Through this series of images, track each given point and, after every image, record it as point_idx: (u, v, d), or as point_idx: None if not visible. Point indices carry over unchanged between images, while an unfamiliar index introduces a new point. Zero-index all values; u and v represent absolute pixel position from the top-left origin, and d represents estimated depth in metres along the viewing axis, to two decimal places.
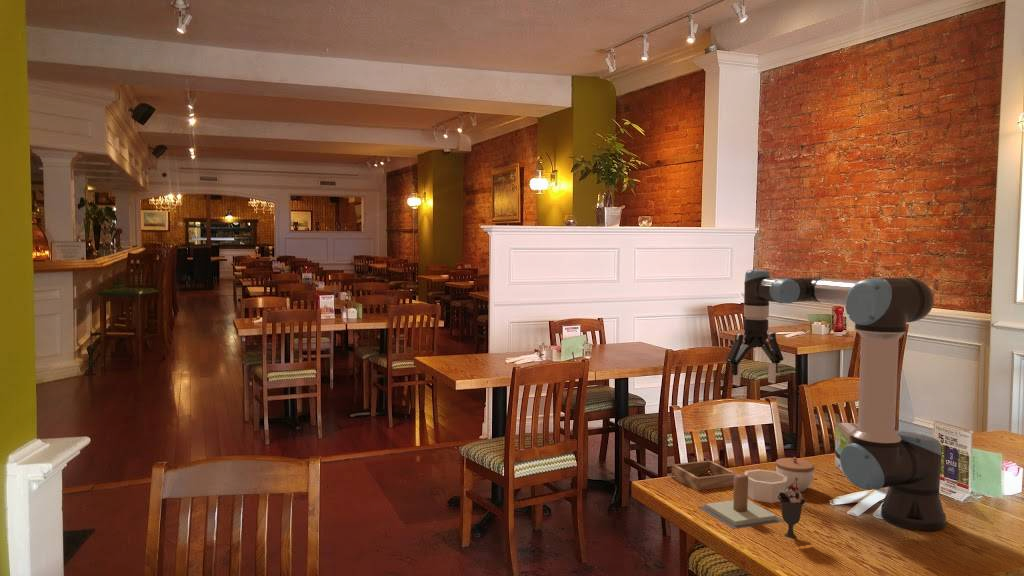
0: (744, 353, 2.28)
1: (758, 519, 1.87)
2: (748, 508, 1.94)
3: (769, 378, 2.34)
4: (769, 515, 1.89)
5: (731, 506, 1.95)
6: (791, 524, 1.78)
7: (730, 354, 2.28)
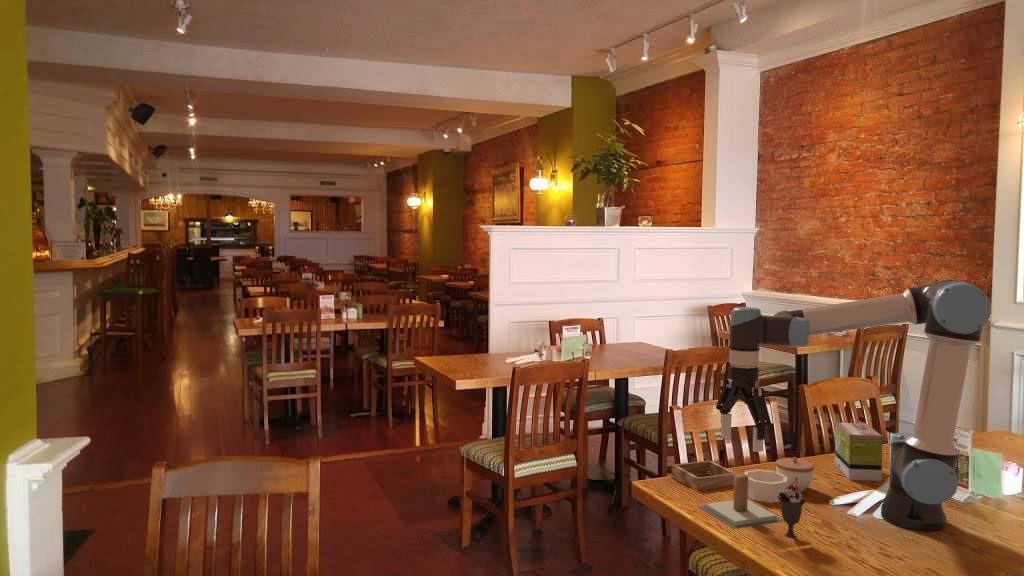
0: (727, 402, 1.96)
1: (758, 519, 1.87)
2: (748, 508, 1.94)
3: None
4: (769, 515, 1.89)
5: (731, 506, 1.95)
6: (791, 524, 1.78)
7: None
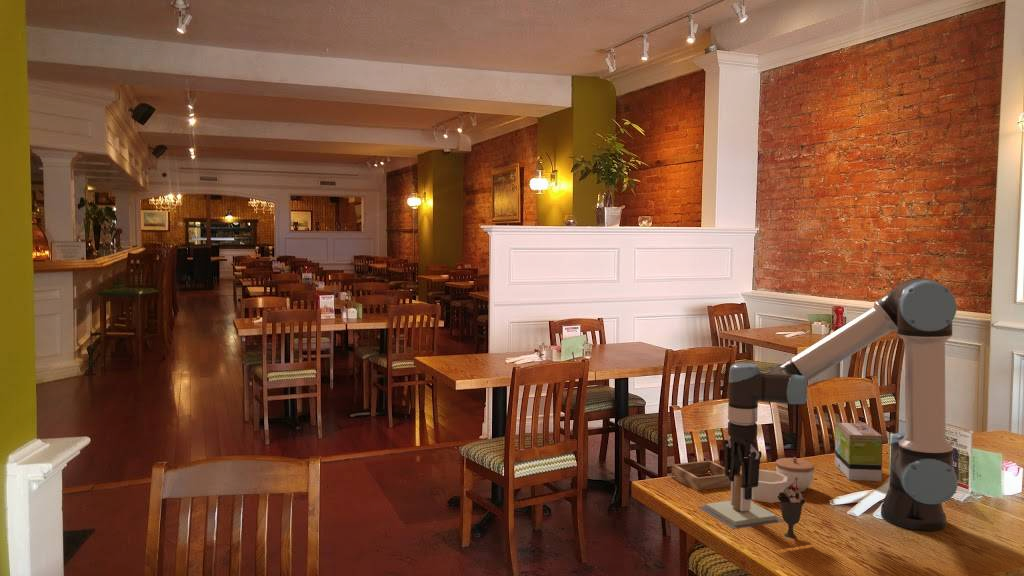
0: (732, 464, 1.94)
1: (758, 519, 1.87)
2: None
3: None
4: (769, 515, 1.89)
5: (731, 506, 1.95)
6: (791, 524, 1.78)
7: None
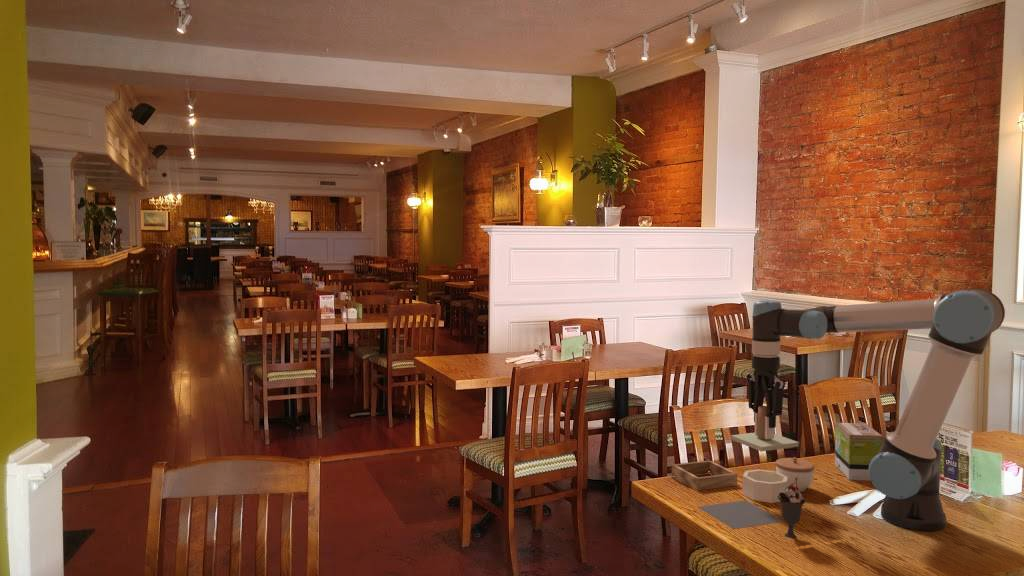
0: (756, 396, 2.05)
1: (782, 445, 1.99)
2: None
3: None
4: (792, 442, 2.01)
5: (755, 436, 2.07)
6: (791, 524, 1.78)
7: None
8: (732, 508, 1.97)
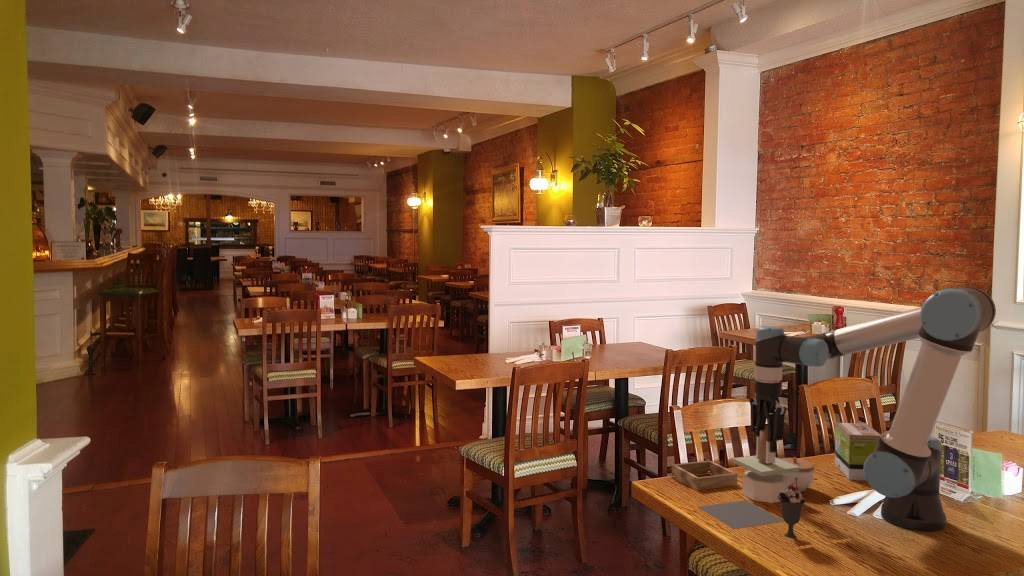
0: (758, 420, 2.08)
1: (782, 470, 2.01)
2: None
3: None
4: (792, 467, 2.03)
5: (756, 460, 2.09)
6: (791, 524, 1.78)
7: None
8: (732, 508, 1.97)
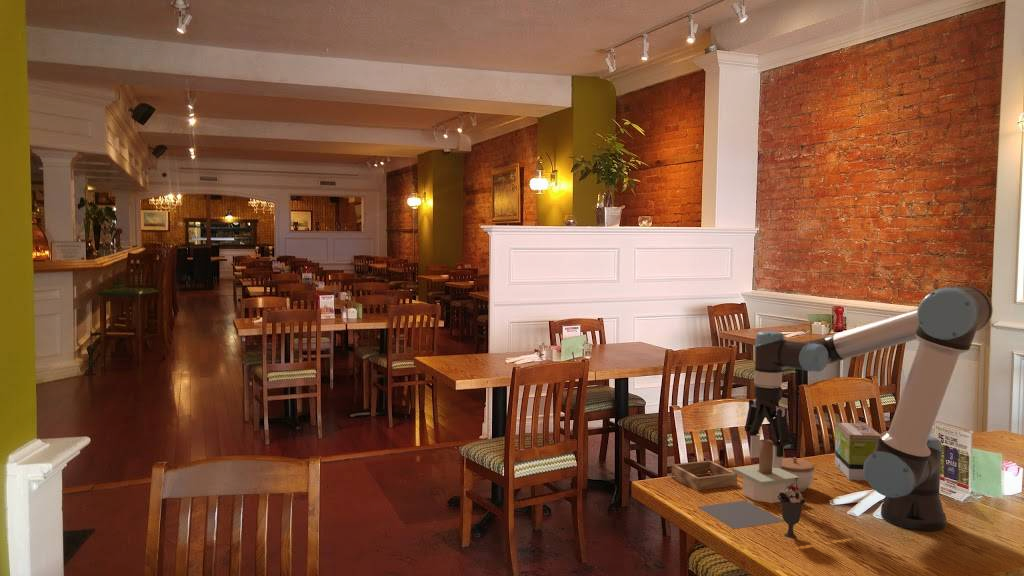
0: (754, 422, 2.10)
1: (783, 480, 2.02)
2: (773, 471, 2.08)
3: None
4: (793, 477, 2.03)
5: (757, 469, 2.10)
6: (791, 524, 1.78)
7: None
8: (732, 508, 1.97)
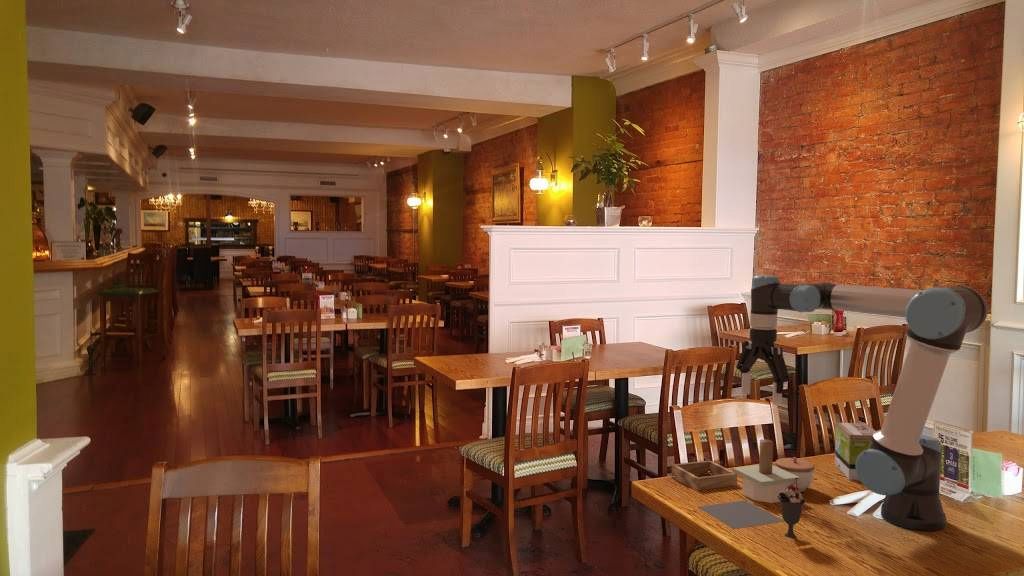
0: (747, 361, 2.16)
1: (783, 480, 2.02)
2: (773, 471, 2.08)
3: None
4: (793, 477, 2.03)
5: (757, 469, 2.10)
6: (791, 524, 1.78)
7: None
8: (732, 508, 1.97)
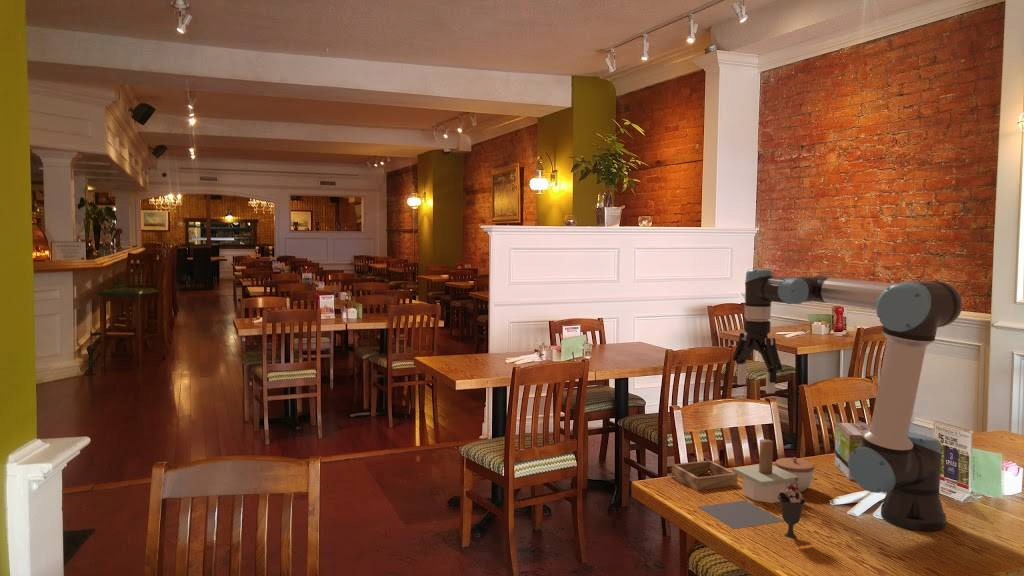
0: (742, 353, 2.24)
1: (783, 480, 2.02)
2: (773, 471, 2.08)
3: None
4: (793, 477, 2.03)
5: (757, 469, 2.10)
6: (791, 524, 1.78)
7: None
8: (732, 508, 1.97)
